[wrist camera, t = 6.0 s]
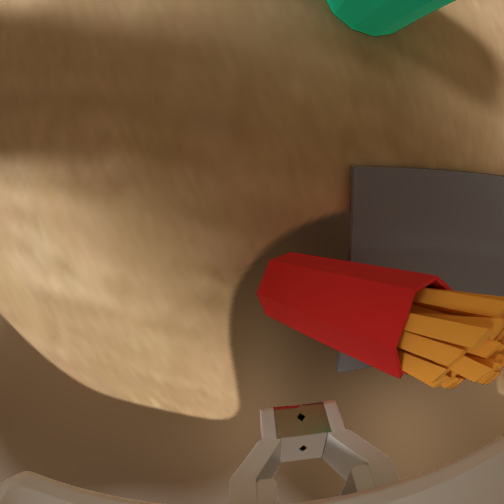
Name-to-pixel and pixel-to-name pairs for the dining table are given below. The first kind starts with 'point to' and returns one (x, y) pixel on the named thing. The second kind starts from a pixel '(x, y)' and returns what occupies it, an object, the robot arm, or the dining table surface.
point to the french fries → (388, 317)
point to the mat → (428, 227)
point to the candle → (382, 13)
